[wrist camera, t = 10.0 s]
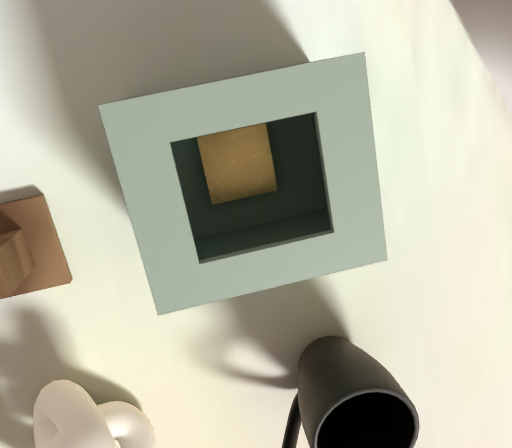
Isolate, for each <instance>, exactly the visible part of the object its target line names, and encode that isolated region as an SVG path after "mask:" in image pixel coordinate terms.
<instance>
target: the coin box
mask: <svg viewBox="0 0 512 448" xmlns="http://www.w3.org/2000/svg"><path fill="white" fill-rule="evenodd" d="M98 108H99V111H100V115H101V118H102V122H103V125H104V129H105V132H106V136H107V139H108V143H109V146H110V150H111V153H112V157H113V160H114V164H115V167H116V171H117V174H118V178H119V181H120V185H121V188H122V192H123V195H124V199H125V202H126V206H127V209H128V213H129V216H130V220H131V223H132V226H133V230H134V233H135V237H136V240H137V244H138V247H139V251H140V254H141V258H142V261H143V265H144V268H145V272H146V275H147V279H148V282H149V286H150V289H151V293H152V296H153V300H154V303H155V307H156V310H157V314H158V315H163V314H167V313H171V312H175V311H179V310H183V309H187V308H191V307H196V306H200V305H204V304H208V303H212V302H216V301H220V300H224V299H229V298H233V297H237V296H241V295H245V294H249V293H253V292H258V291H262V290H266V289H270V288H274V287H278V286H282V285H286V284H291V283H295V282H299V281H303V280H307V279H311V278H315V277H319V276H324V275H328V274H332V273H336V272H340V271H344V270H348V269H353V268H357V267H361V266H365V265H369V264H373V263H377V262H381V261H386V260H387V251H386V242H385V233H384V224H383V215H382V205H381V196H380V187H379V178H378V169H377V160H376V151H375V142H374V133H373V124H372V115H371V106H370V97H369V87H368V78H367V69H366V60H365V52H362V53H357V54H351V55H346V56H340V57H335V58H329V59H324V60H319V61H313V62H308V63H303V64H298V65H293V66H288V67H283V68H278V69H273V70H268V71H263V72H258V73H253V74H248V75H243V76H238V77H233V78H228V79H223V80H218V81H213V82H208V83H203V84H198V85H193V86H188V87H183V88H178V89H173V90H168V91H163V92H158V93H153V94H148V95H143V96H138V97H133V98H128V99H123V100H119V101H115V102H110V103H106V104H102V105H98ZM260 123H266V128H267V133H268V139H269V144H270V150H271V155H272V161H273V166H274V172H275V177H276V183H277V189H278V190H276V191H272V192H267V193H263V194H258V195H254V196H250V197H245V198H241V199H236V200H232V201H227V202H223V203H218V204H214V205H212V203H211V199H210V194H209V190H208V186H207V181H206V177H205V172H204V168H203V164H202V159H201V155H200V150H199V146H198V142H197V137H198V136H202V135H207V134H212V133H217V132H221V131H226V130H231V129H236V128H241V127H245V126H250V125H255V124H260Z"/></svg>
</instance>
